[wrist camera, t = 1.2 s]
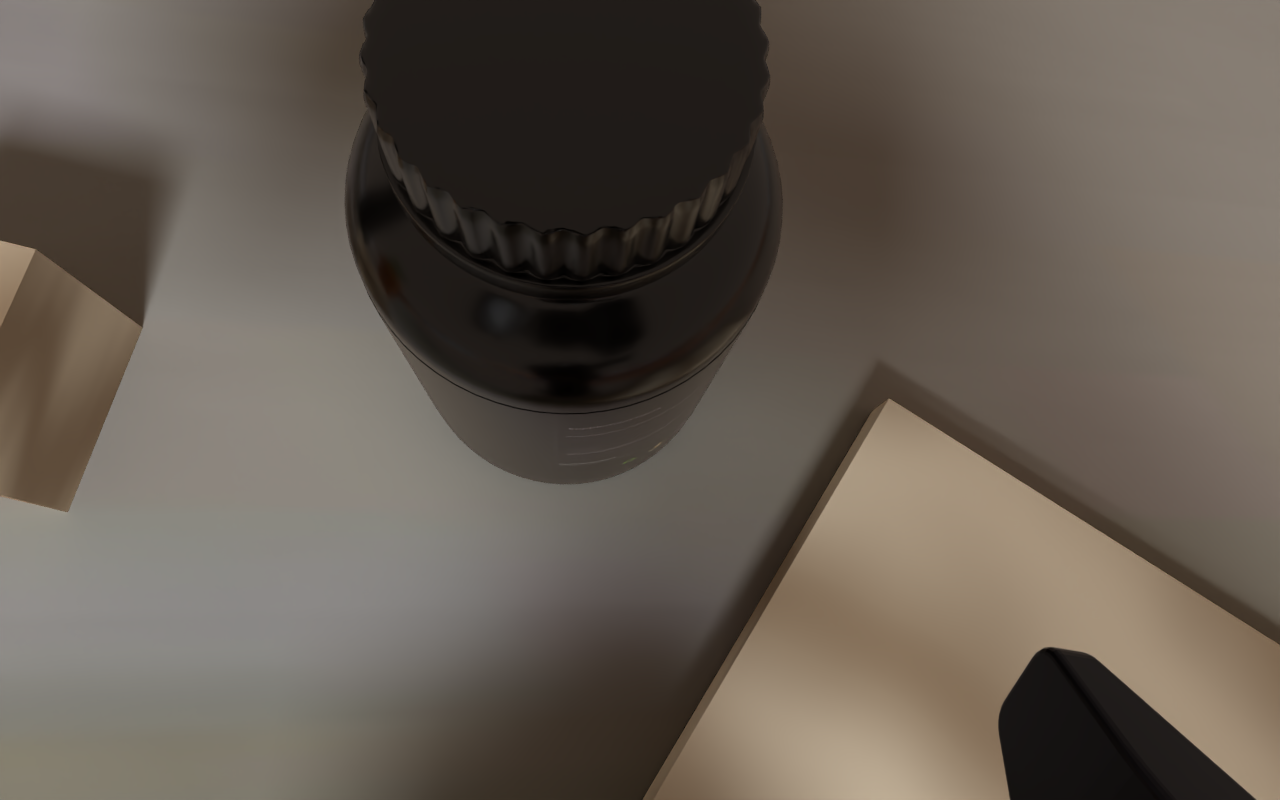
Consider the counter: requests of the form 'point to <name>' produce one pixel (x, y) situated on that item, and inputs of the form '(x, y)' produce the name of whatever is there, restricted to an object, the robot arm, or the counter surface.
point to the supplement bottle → (564, 215)
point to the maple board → (953, 639)
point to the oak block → (53, 375)
